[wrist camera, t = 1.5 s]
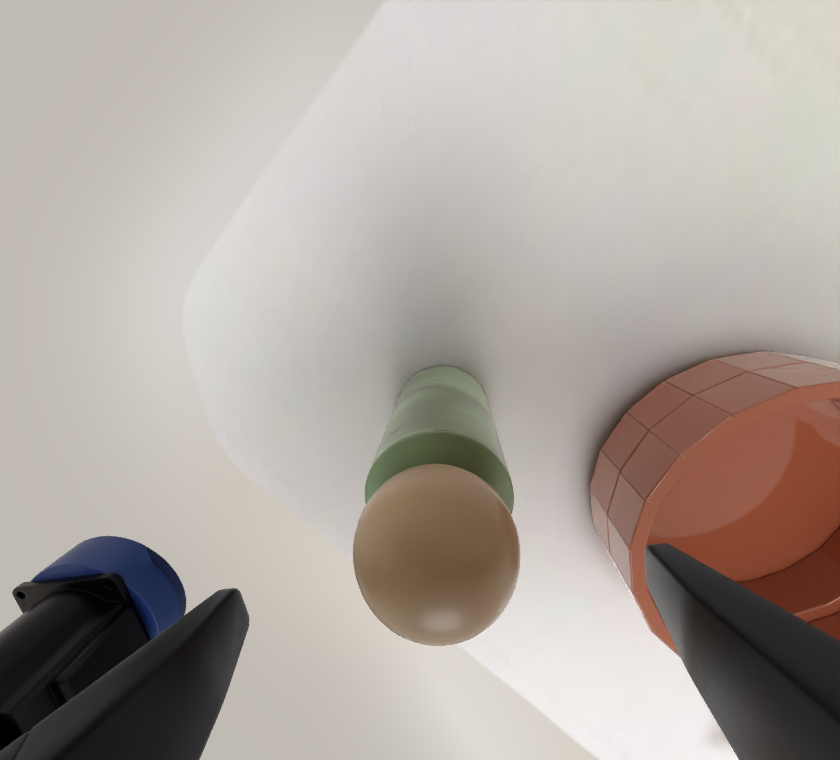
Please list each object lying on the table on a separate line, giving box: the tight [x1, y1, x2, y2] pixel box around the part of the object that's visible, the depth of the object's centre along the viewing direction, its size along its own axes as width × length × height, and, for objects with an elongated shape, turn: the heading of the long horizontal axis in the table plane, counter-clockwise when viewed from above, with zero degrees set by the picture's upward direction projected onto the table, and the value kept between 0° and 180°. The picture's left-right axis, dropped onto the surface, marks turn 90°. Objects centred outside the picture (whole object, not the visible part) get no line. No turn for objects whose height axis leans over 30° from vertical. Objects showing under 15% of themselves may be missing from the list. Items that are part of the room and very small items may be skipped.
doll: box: [353, 366, 520, 646], centre depth 13 cm, size 4×4×12 cm
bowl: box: [590, 351, 840, 658], centre depth 17 cm, size 13×13×5 cm
